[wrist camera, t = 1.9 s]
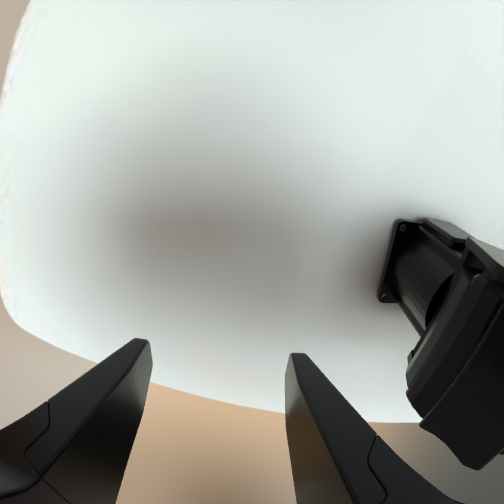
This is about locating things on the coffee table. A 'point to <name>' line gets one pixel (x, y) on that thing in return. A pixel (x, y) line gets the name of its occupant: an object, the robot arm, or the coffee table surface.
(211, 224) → the coffee table surface
